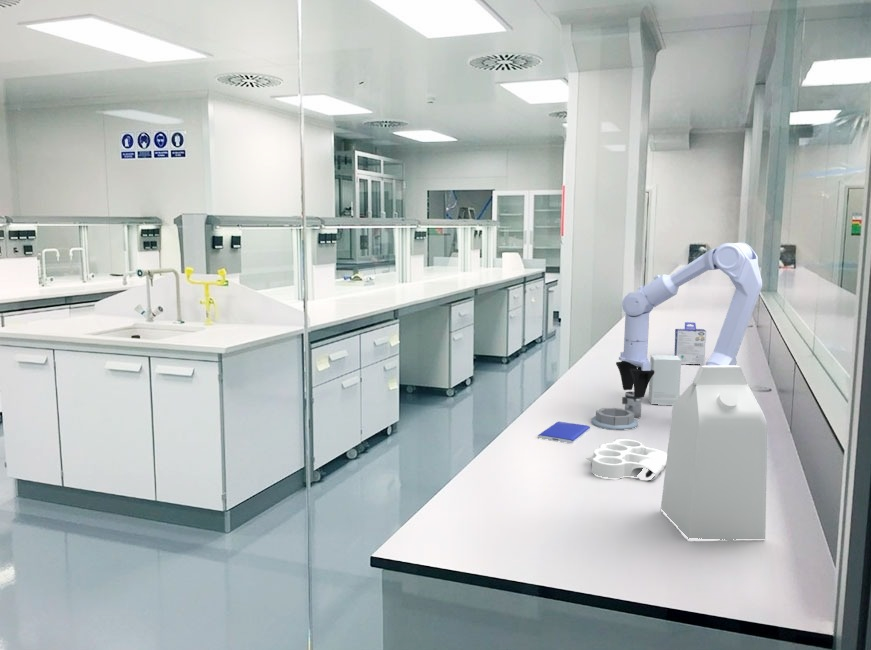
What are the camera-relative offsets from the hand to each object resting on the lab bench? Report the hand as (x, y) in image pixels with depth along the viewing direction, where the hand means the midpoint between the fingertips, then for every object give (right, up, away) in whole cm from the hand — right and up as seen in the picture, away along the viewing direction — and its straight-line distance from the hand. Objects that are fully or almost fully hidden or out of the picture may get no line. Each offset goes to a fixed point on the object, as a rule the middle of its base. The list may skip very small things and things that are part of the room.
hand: (633, 393), depth 176 cm
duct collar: (-6, -7, -6) cm, 11 cm away
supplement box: (+13, -4, +15) cm, 20 cm away
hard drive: (-20, -9, -14) cm, 26 cm away
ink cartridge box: (+39, +3, +70) cm, 80 cm away
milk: (-6, -15, -64) cm, 66 cm away
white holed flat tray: (-12, -12, -36) cm, 40 cm away
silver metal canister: (0, -6, +1) cm, 6 cm away
